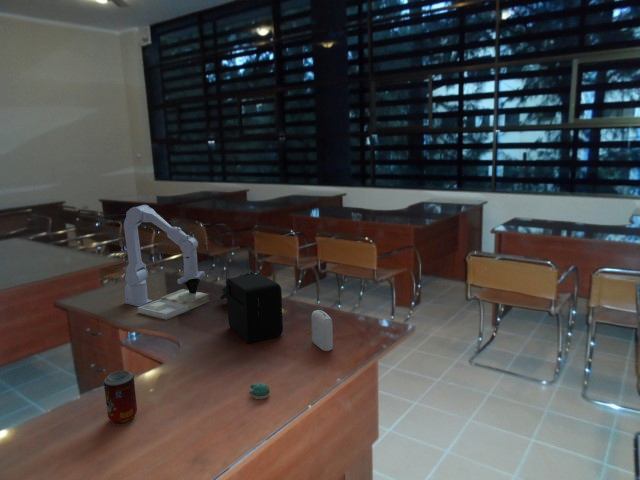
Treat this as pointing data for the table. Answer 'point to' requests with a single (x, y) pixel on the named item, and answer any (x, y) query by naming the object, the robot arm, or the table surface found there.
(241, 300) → the air purifier
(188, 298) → the tile sage
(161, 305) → the tile cream
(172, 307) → the box
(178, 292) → the bench board
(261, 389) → the green domed piece
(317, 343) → the photo printer
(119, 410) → the soda can
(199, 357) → the table surface
